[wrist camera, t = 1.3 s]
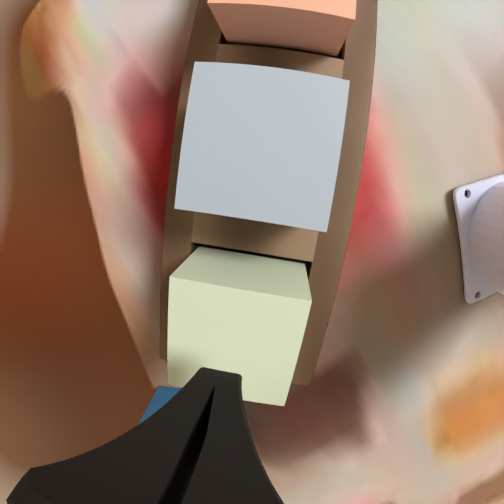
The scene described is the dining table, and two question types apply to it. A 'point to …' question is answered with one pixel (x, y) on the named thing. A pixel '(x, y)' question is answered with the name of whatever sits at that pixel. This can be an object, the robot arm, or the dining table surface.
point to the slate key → (262, 144)
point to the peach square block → (286, 23)
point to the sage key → (238, 320)
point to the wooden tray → (269, 234)
